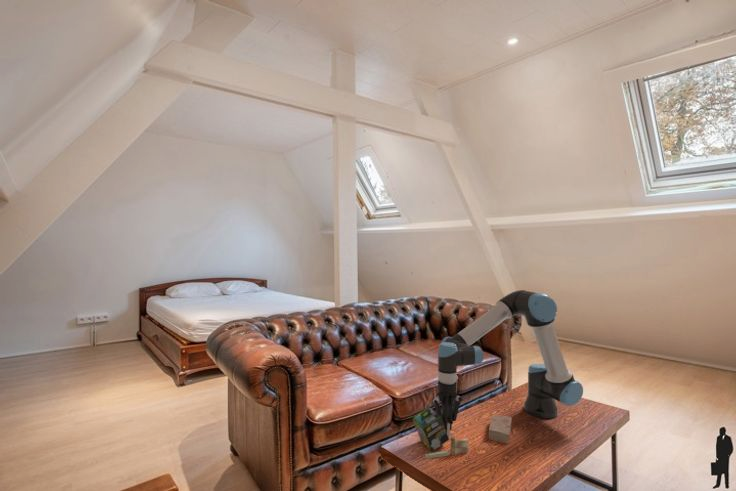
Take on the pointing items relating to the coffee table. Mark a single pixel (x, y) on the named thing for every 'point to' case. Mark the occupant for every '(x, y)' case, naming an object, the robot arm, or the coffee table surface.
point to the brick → (500, 428)
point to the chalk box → (430, 428)
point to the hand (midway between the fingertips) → (447, 438)
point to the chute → (459, 446)
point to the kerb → (437, 454)
